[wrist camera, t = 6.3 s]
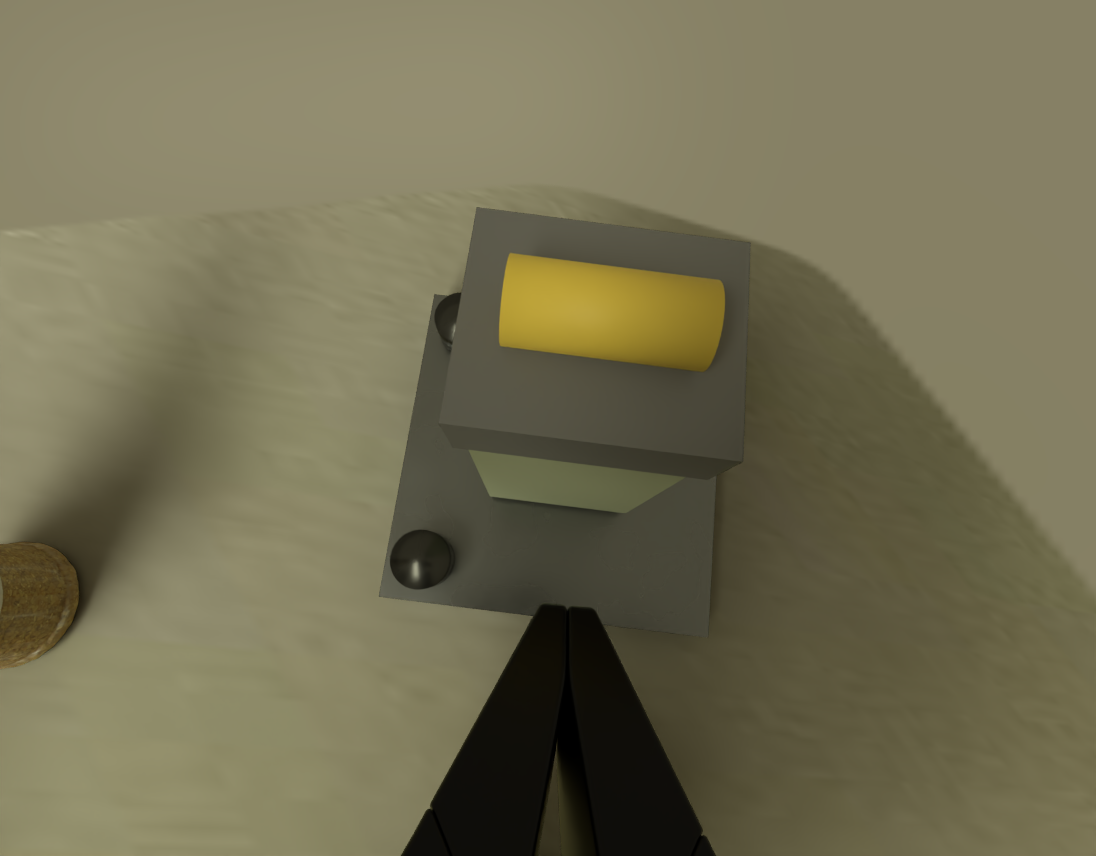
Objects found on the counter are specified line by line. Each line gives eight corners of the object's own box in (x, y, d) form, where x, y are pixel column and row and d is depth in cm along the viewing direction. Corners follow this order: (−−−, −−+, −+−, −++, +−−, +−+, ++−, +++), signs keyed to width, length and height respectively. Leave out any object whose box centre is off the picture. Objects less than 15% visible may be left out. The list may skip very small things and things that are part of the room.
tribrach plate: (695, 632, 22) (722, 643, 19) (388, 594, 22) (367, 599, 19) (712, 344, 25) (737, 315, 22) (439, 310, 25) (428, 276, 22)
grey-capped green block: (630, 519, 21) (777, 444, 9) (483, 501, 21) (424, 398, 9) (640, 404, 22) (782, 196, 10) (500, 387, 22) (469, 156, 10)
